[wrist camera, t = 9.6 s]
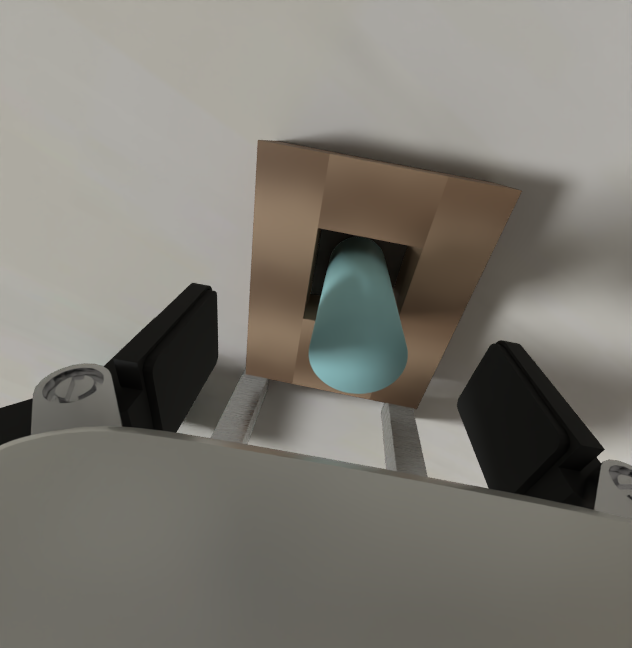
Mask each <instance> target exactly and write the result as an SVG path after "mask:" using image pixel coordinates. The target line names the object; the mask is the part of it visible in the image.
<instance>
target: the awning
mask: <svg viewBox="0 0 632 648" xmlns="http://www.w3.org/2000/svg"><path fill="white" fill-rule="evenodd" d="M268 380H269V379H267V378H262V377H257V376H252V375H247V374H246V368H245V370H244V372H243V374H242V376H241V378H240V380H239V382H238V384H237V386H236V388H235V390H234V392H233V394H232V396H231V398H230V400H229V402H228V404H227V406H226V408H225V410H224V412H223V414H222V416H221V418H220V420H219V422H218V424H217V426H216V428H215V430H214V432H213V434H212V436H211V438H212V439H218V440H225V441H230V442H236V443H242V444H248V442H249V439H250V436H251V433H252V431H253V428H254V425H255V422H256V420H257V417H258V414H259V411H260V409H261V406H262V403H263V400H264V398H265V395H266V392H267V389H268ZM381 419H382V430H383V441H384V452H385V463H386V470H392V471H397V472H402V473H408V474H413V475H419V476H424V477H428V476H427V472H426V467H425V462H424V458H423V453H422V448H421V444H420V439H419V434H418V430H417V425H416V420H415V416H414V411H413V408H409V407H404V406H399V405H394V404H389V403H385V404H384V406H383V409H382V411H381Z"/></svg>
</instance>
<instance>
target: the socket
mask: <svg viewBox="0 0 632 648" xmlns="http://www.w3.org/2000/svg"><path fill="white" fill-rule="evenodd" d="M521 192H522V191H521V190H517V189H514V188H510V187H507V186H503V185H499V184H496V183H492V182H487V181H482V180H477V179H472V178H466V177H461V176H456V175H451V174H446V173H440V172H435V171H430V170H425V169H420V168H414V167H409V166H404V165H399V164H394V163H388V162H383V161H378V160H373V159H367V158H362V157H357V156H352V155H347V154H341V153H336V152H331V151H326V150H321V149H315V148H310V147H305V146H300V145H295V144H289V143H284V142H279V141H268V140H258V147H257V166H256V185H255V204H254V223H253V242H252V261H251V280H250V300H249V319H248V338H247V357H246V374H247V375H252V376H257V377H262V378H267V379H271V380H276V381H281V382H286V383H291V384H296V385H301V386H306V387H311V388H316V389H320V390H325V391H330V392H335V393H340V394H345V395H350V396H355V397H360V398H365V399H369V400H374V401H379V402H384V403H389V404H394V405H399V406H404V407H409V408H414V409H417V408H418V405H419V403H420V401H421V399H422V397H423V395H424V393H425V391H426V389H427V387H428V385H429V383H430V381H431V379H432V376H433V374H434V372H435V370H436V368H437V366H438V364H439V362H440V360H441V358H442V356H443V354H444V352H445V349H446V347H447V345H448V343H449V341H450V339H451V337H452V335H453V333H454V331H455V329H456V327H457V325H458V323H459V320H460V318H461V316H462V314H463V312H464V310H465V308H466V306H467V304H468V302H469V300H470V298H471V296H472V293H473V291H474V289H475V287H476V285H477V283H478V281H479V279H480V277H481V275H482V273H483V271H484V269H485V267H486V264H487V262H488V260H489V258H490V256H491V254H492V252H493V250H494V248H495V246H496V244H497V242H498V240H499V237H500V235H501V233H502V231H503V229H504V227H505V225H506V223H507V221H508V219H509V217H510V215H511V213H512V211H513V208H514V206H515V204H516V202H517V200H518V198H519V196H520V194H521ZM322 229H326V230H331V231H337V232H342V233H347V234H352V235H357V236H362V237H367V238H372V239H377V240H383V241H388V242H393V243H398V244H403V245H408V246H407V249H406V252H405V255H404V258H403V261H402V264H401V267H400V270H399V273H398V276H397V279H396V282H395V286H394V289H393V293H394V297H395V301H396V305H397V309H398V313H399V317H400V321H401V325H402V329H403V333H404V337H405V341H406V345H407V350H408V359H407V364H406V367H405V369H404V371H403V372H402V374H401V375H400V377H399V378H398V379H397V380H396V381H395V382H393V383H392V384H391V385H389V386H387V387H386V388H383V389H381V390H378V391H375V392H371V393H365V394H353V393H346V392H342V391H339V390H337V389H334V388H332V387H330V386H329V385H327V384H325V383H324V382H323V381H322V380H321V379H320V378H319V377H318V376H317V375H316V374H315V372H314V371H313V369H312V367H311V364H310V361H309V346H310V341H311V337H312V333H313V329H314V324H315V320H316V316H317V311H318V307H319V303H320V298H321V296H319V295H314V294H311V289H312V283H313V277H314V271H315V265H316V259H317V253H318V247H319V241H320V236H321V230H322Z"/></svg>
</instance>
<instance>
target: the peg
mask: <svg viewBox="0 0 632 648" xmlns="http://www.w3.org/2000/svg"><path fill="white" fill-rule="evenodd" d="M407 359H408V350H407V345H406V341H405V337H404V333H403V329H402V325H401V321H400V317H399V313H398V309H397V305H396V301H395V297H394V293H393V289H392V285H391V281H390V277H389V273H388V269H387V265H386V261H385V257H384V254H383V252H382V250H381V248H380V247H379V246H378V245H377V244H376V243H375V242H374V241H372V240H370V239H368V238H364V237H351V238H348V239H345V240H344V241H342V242H340V243H339V244H338V245H337V246H336V247H335V248H334V250H333V251H332V253H331V256H330V260H329V264H328V268H327V272H326V277H325V281H324V285H323V290H322V294H321V298H320V303H319V307H318V311H317V316H316V320H315V324H314V329H313V333H312V337H311V341H310V346H309V361H310V364H311V367H312V369H313V371H314V372H315V374H316V375H317V376H318V377H319V378H320V379H321V380H322V381H323V382H324V383H325V384H327V385H329V386H330V387H332V388H334V389H337V390H339V391H342V392H346V393H353V394H365V393H371V392H375V391H378V390H381V389H383V388H386V387H387V386H389V385H391V384H392V383H393V382H395V381H396V380H397V379H398V378H399V377H400V375H401V374H402V372H403V371H404V369H405V367H406V364H407Z"/></svg>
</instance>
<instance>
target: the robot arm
mask: <svg viewBox="0 0 632 648" xmlns="http://www.w3.org/2000/svg"><path fill="white" fill-rule="evenodd" d="M217 359H218V318H217V293H216V291H212V288H211V287H210V286H207V285H202V284H197V283H192V284H190V285H189V286H188V287H187V288H186V289H185V290H184V291H183V292H182V293H181V294H180V295H179V296H178V297H177V298H176V299H175V300H174V301H172V302H171V303H170V304H169V305H168V306H167V307H166V308H165V309H164V310H163V311H162V312H161V313H160V314H159V315H158V316H157V317H156V318H154V319H153V320H152V321H151V322H150V323H149V324H148V325H147V326H146V327H145V328H143V329H142V330H141V331H140V332H139V333H138V334H137V335H136V336H135V337H134V338H133V339H132V340H131V341H130V342H129V343H128V344H127V345H126V346H125V347H124V348H122V349H121V350H120V351H119V352H118V353H117V354H116V355H115V356H114V357H113V358H112V359H111V360H110V361H109V362H108V363H107V364H106V365H105V366H104V367H103V366H101V365H97V364H77V365H72V366H68V367H65V368H62V369H59V370H57V371H55V372H53V373H51V374H50V375H48V376H47V377H45V378H44V379H43V380H41V381H40V383H39V384H38V385H37V386H36V387H35V390H34V393H33V399H29V400H26V401H23V402H19V403H16V404H13V405H9V406H6V407H2V408H0V648H632V466H631V465H629V464H626V463H623V462H621V461H618V460H606V461H603V462H602V463H600V461H599V460H598V459H597V456H598V455H599V454H600V453H601V452H603V451H604V450H605V449H604V448H603V447H602V445H601V444H600V443H599V442H598V440H597V439H596V438H595V437H594V435H593V434H592V433H591V432H590V430H589V429H588V428H587V427H586V425H585V424H584V423H583V422H582V420H581V419H580V418H579V417H578V415H577V414H576V413H575V412H574V411H573V409H572V408H571V407H570V406H569V404H568V403H567V402H566V401H565V399H564V398H563V397H562V396H561V394H560V393H559V392H558V391H557V389H556V388H555V387H554V386H553V384H552V383H551V382H550V381H549V379H548V378H547V377H546V376H545V374H544V373H543V372H542V371H541V369H540V368H539V367H538V366H537V365H536V363H535V362H534V361H533V360H532V358H531V357H530V356H529V355H528V353H527V352H526V351H525V350H524V348H523V347H522V346H521V345H520V344H517V343H512V342H507V341H498V342H497V343H496V344H492V345H491V346H490V347H489V348H488V350H487V352H486V353H485V355H484V357H483V358H482V360H481V362H480V363H479V365H478V367H477V368H476V370H475V372H474V374H473V375H472V377H471V379H470V380H469V382H468V384H467V385H466V387H465V389H464V390H463V392H462V394H461V395H460V397H459V399H458V402H457V408H458V411H459V413H460V416H461V419H462V421H463V424H464V426H465V429H466V431H467V434H468V436H469V439H470V442H471V444H472V447H473V449H474V452H475V454H476V457H477V460H478V462H479V465H480V467H481V470H482V472H483V475H484V477H485V480H486V483H487V485H488V488H489V489H488V488H483V487H477V486H472V485H467V484H461V483H456V482H451V481H446V480H440V479H435V478H430V477H424V476H419V475H413V474H408V473H402V472H397V471H392V470H386V469H381V468H375V467H370V466H364V465H359V464H353V463H348V462H342V461H337V460H331V459H326V458H320V457H315V456H309V455H304V454H298V453H292V452H287V451H281V450H275V449H270V448H264V447H259V446H253V445H247V444H242V443H236V442H230V441H225V440H218V439H212V438H206V437H200V436H194V435H187V434H181V433H176V432H177V430H178V429H179V427H180V425H181V423H182V422H183V420H184V418H185V417H186V415H187V413H188V411H189V410H190V408H191V406H192V404H193V403H194V401H195V399H196V397H197V396H198V394H199V392H200V391H201V389H202V387H203V385H204V384H205V382H206V380H207V378H208V377H209V375H210V373H211V372H212V370H213V368H214V366H215V365H216V362H217Z"/></svg>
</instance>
